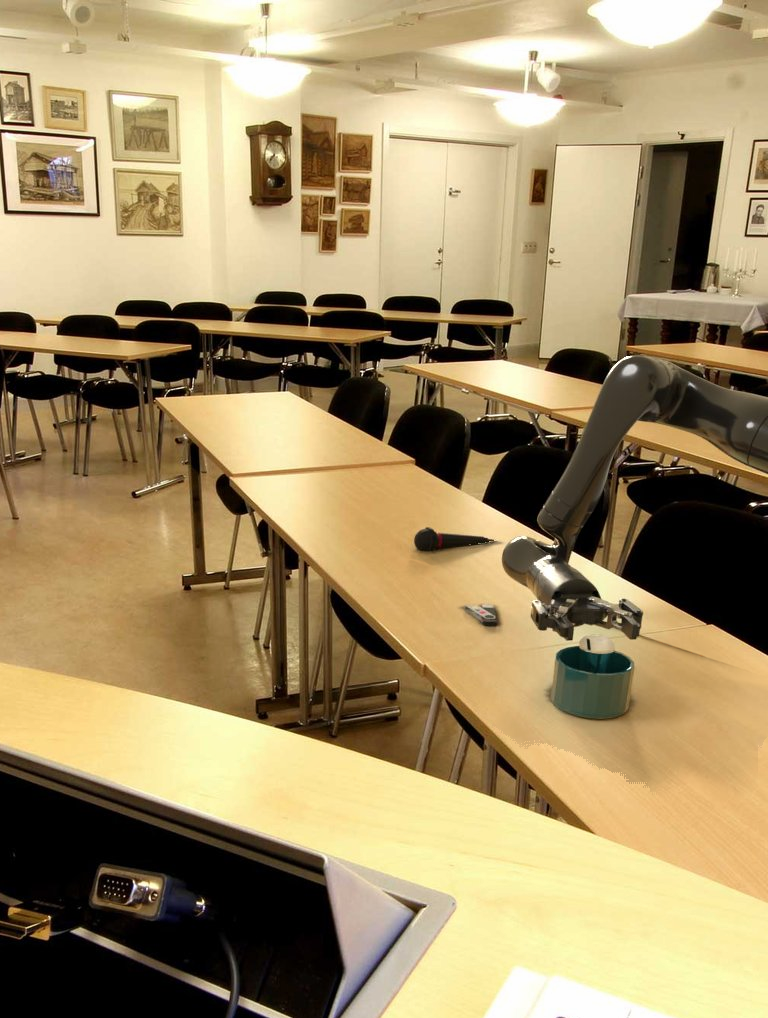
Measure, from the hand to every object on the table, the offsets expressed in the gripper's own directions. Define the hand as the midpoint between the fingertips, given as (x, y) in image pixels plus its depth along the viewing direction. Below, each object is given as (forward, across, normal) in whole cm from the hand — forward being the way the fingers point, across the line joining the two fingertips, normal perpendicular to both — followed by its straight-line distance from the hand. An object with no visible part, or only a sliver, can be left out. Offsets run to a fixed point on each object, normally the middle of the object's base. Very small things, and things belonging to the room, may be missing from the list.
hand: (603, 633), depth 122 cm
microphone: (-76, -3, +11) cm, 77 cm away
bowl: (-2, 0, +11) cm, 11 cm away
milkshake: (-2, 0, +11) cm, 11 cm away
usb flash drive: (-35, -8, +11) cm, 38 cm away
